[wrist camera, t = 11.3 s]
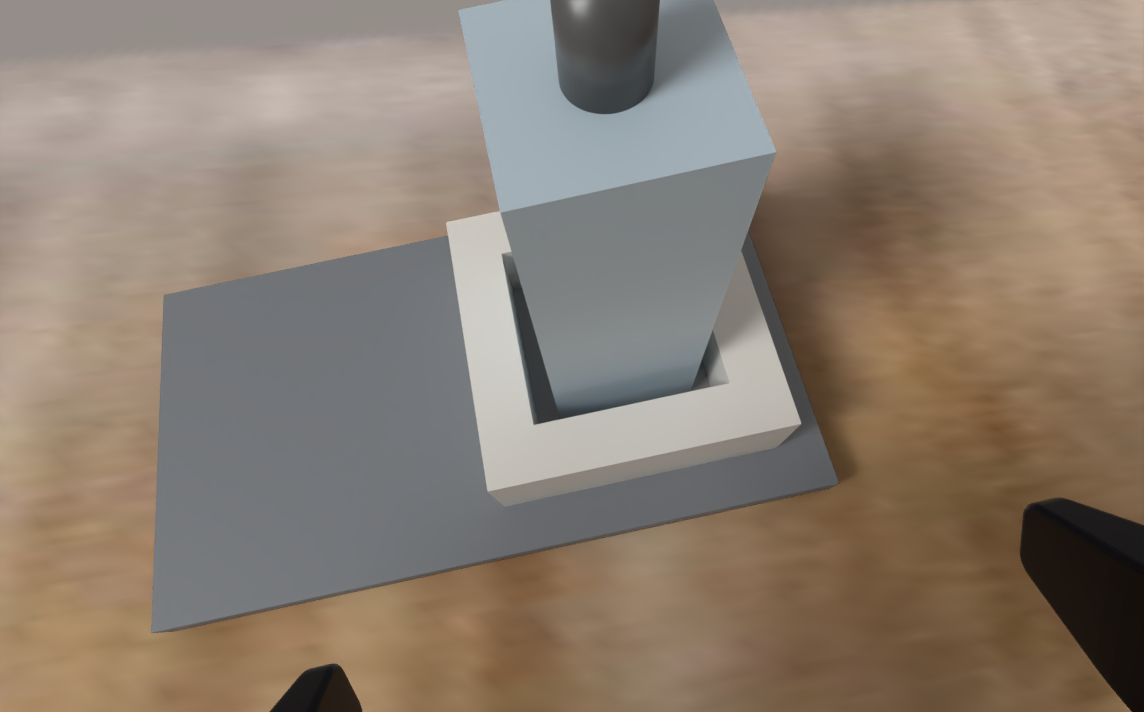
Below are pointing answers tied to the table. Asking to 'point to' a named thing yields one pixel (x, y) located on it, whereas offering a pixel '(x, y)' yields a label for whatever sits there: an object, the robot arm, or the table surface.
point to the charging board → (375, 443)
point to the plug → (618, 182)
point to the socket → (613, 436)
